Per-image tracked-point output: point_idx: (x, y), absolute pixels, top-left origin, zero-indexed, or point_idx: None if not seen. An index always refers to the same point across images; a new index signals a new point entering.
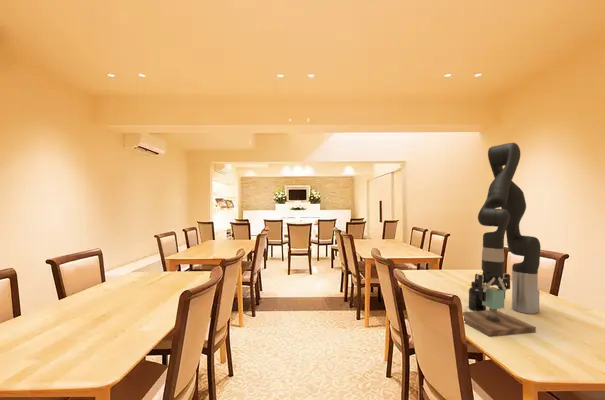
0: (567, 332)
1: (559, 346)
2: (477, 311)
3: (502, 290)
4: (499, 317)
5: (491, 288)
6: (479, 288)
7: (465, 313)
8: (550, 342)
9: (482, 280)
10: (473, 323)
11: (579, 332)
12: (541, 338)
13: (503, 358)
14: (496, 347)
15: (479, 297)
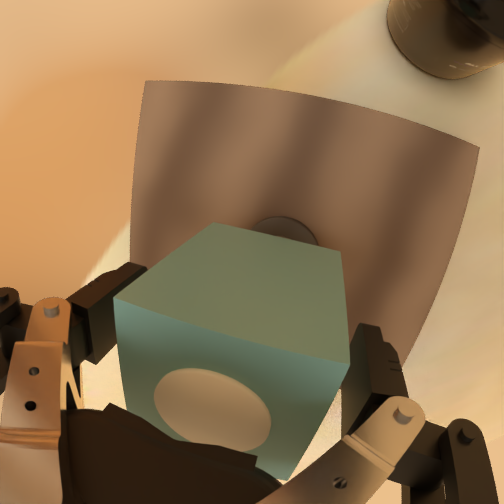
0: (477, 407)
1: (314, 446)
2: (322, 103)
3: (279, 471)
4: (359, 250)
5: (193, 403)
6: (8, 356)
7: (199, 104)
8: (322, 430)
9: (7, 390)
10: (132, 236)
11: (501, 413)
12: (332, 409)
13: (93, 388)
14: (112, 361)
15: (100, 278)
